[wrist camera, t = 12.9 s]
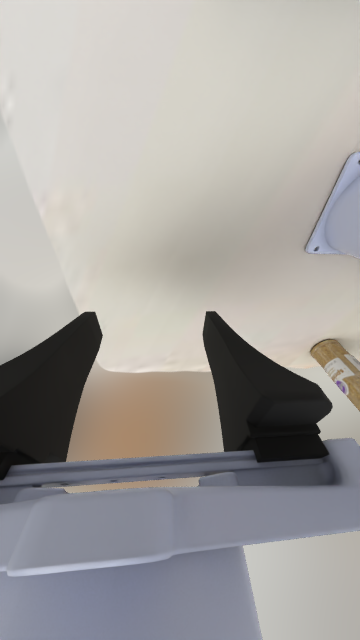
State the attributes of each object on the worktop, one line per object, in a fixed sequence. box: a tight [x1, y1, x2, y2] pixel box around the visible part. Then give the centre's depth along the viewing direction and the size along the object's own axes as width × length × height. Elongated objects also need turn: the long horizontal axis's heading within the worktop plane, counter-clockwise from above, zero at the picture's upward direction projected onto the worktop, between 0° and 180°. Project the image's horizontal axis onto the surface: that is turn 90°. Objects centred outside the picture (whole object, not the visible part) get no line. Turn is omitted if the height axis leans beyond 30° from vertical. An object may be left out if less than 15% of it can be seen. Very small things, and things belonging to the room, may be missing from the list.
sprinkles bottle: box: [311, 340, 360, 411], centre depth 25 cm, size 5×5×13 cm
